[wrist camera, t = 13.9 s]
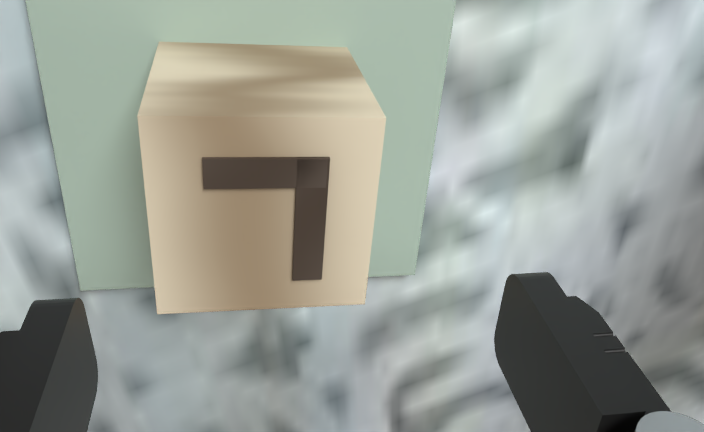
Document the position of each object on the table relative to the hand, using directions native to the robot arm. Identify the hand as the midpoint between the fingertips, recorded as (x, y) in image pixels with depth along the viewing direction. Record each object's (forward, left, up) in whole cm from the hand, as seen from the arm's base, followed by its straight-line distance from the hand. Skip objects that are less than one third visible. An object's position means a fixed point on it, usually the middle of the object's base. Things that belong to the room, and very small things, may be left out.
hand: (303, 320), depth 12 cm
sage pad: (+1, 0, -8) cm, 8 cm away
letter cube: (+1, 0, -8) cm, 8 cm away
